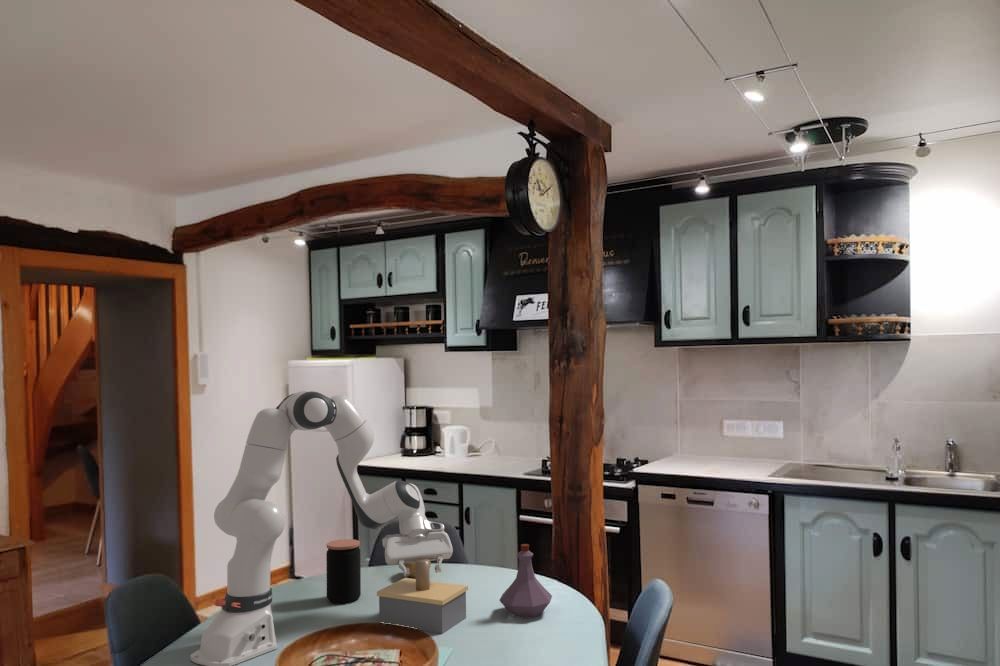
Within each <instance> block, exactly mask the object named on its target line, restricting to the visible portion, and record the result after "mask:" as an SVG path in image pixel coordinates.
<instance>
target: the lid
mask: <svg viewBox="0 0 1000 666" xmlns="http://www.w3.org/2000/svg"><path fill="white" fill-rule="evenodd" d="M430 576H431V575H430V568H429V560H427V559H419V560H416V578H411V577H410V578H408V577H404V578H402V579H400V580H398V581H395V582H394V583H391V584H389V585H388V586H385V587H383V588H381V589H379V590H378V591H376V596H377V597H379V596H381V597H389V598H396V599H403V600H410V601H417V602H424V603H431V604H438V605H444V604H445V603H447V602H449V601H450V600H452V599H454V598H455V597H457V596H459V595H460V594H462V593H464V592H465V591H466V592H467V591H469V586H468V585H465V584H457V583H449V582H441V581H433V580H431V579H430Z"/></svg>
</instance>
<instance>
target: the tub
mask: <svg viewBox="0 0 1000 666" xmlns="http://www.w3.org/2000/svg"><path fill="white" fill-rule="evenodd" d="M378 600H379V601H378V602H379V603H378V607H379V608H378V610H379V611H378V613H379V614H378V615H379V619H378V620H379V622H384V623H391V624H399V625H404V626H409V627H414V628H417V629H420V630H419V631H422V630H423V631H424V632H429V633H435V634H442V635H443V634H444V633H446V632H447V631H449V630H450V629H452V628H453V627H455V626H456V625H457V624H459V623H461V622H462V621H463V620H465V619H466V618H467V591H465V592H464V593H462V594H460V595H459V596H457V597H455V598H454V599H452V600H450V601H449V602H447V603H445V604H444V605H438V604H431V603H424V602H417V601H410V600H403V599H396V598H389V597H381V596H378Z"/></svg>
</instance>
